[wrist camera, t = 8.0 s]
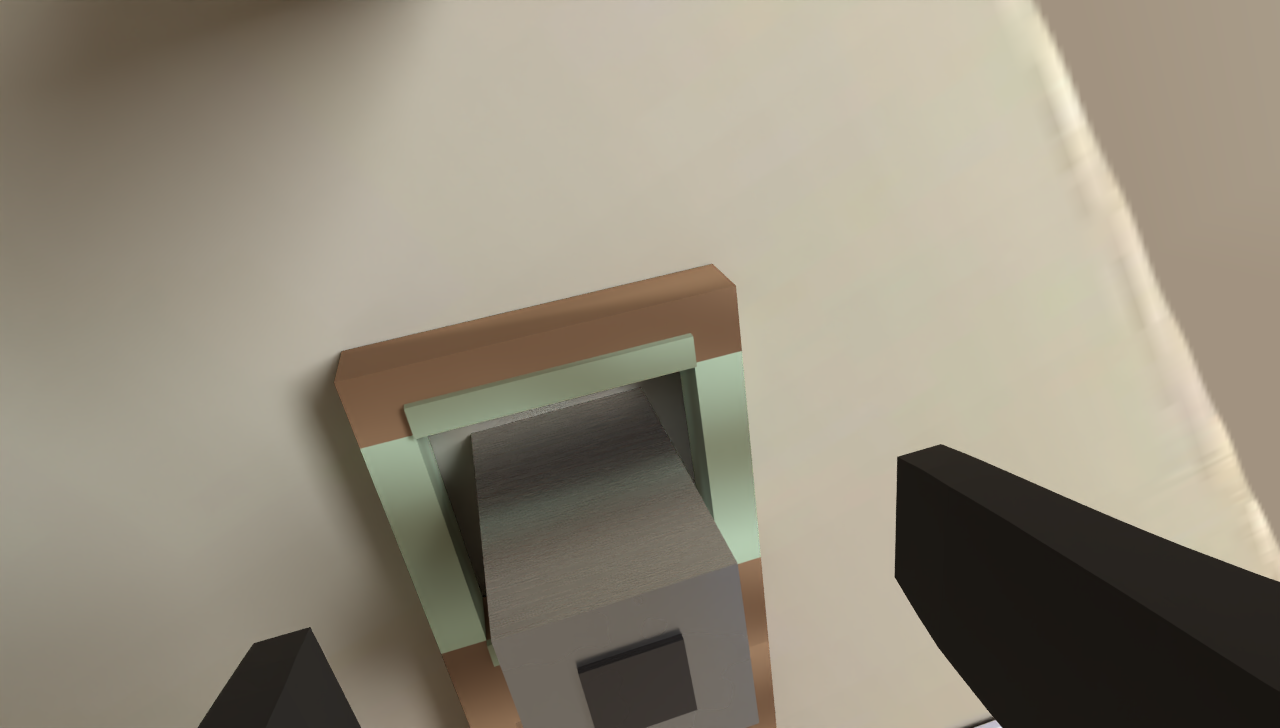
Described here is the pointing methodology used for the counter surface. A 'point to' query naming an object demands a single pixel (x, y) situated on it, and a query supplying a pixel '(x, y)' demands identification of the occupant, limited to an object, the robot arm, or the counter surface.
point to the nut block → (608, 575)
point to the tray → (535, 377)
